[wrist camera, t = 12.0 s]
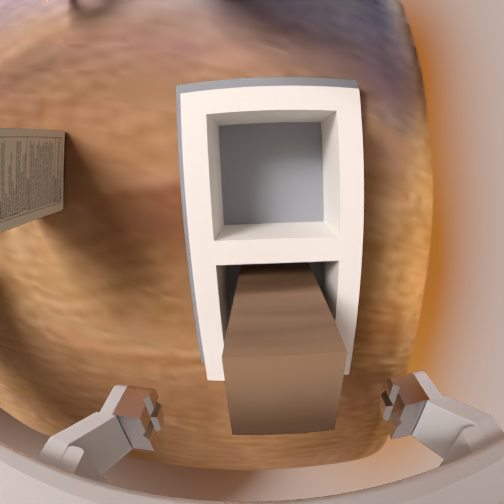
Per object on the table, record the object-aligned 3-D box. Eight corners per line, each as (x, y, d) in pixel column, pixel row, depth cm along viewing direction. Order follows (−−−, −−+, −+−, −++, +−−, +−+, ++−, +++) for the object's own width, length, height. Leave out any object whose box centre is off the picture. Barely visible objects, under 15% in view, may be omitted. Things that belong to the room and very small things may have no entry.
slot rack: (347, 350, 21) (364, 391, 17) (204, 355, 22) (191, 399, 17) (352, 84, 16) (379, 60, 11) (180, 89, 17) (154, 66, 12)
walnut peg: (241, 261, 19) (221, 357, 9) (306, 258, 19) (347, 350, 9) (245, 318, 20) (232, 434, 10) (305, 315, 20) (334, 429, 10)
